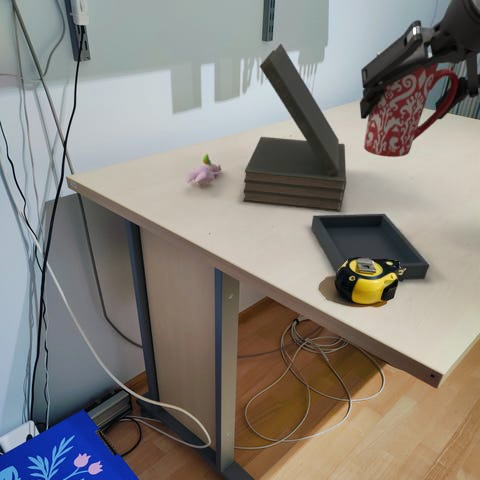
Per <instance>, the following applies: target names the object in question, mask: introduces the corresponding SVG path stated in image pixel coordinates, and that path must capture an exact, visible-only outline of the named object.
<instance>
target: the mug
mask: <svg viewBox="0 0 480 480" xmlns="http://www.w3.org/2000/svg"><path fill="white" fill-rule="evenodd" d="M383 51H384V50H380V51H377V52H376V57H377V56H378V55H379V54H381V53H382V52H383ZM428 56H429V58H430V57H432V52H428ZM439 64H440V63H437V64H435V65H434V66H432V67H430V68H428V69H424V68H421V69H419V70H417V71H415V72H413V73H411V74H410V75H408V76H406V77H404V78H402V79H400V80H398V81H397V82H395V83H393V84H391V85H389V86H387V87H385V88H384V94H383V95H382V97H381V98H380V100H379V101H378V102H377V104H376V105H375V107H374V108H373V109H372V111H371V112H370V113H369V115H368V116H367V122H366V123H367V124H366V130H365V135H364V137H365V138H364V142H363V144H364V145H363V149H364V150H365V151H366V152H367V153H370V154H372V155H376V156H380V157H387V158H388V157H389V158H391V157H392V158H397V157H398V158H399V157H404V156H407V155H409V153H410V151H411V148H412V145H413V142H414V141H415V140H416V139H417V138H418V137H420V136H421V135H422V134H423V133H425V132H426V131H427V130H428V129H429V128H430V127H431V126H433V124H435V123H436V122H437V121H438V120H439V119H438V118H439V117H440V116H441V115H442V114H443V113H444V112H445V111H446V109H447V108H448V107H449V105H450V104H451V102H452V101H453V99H454V97H455V95H456V92H457V89H458V83H459V80H458V79H459V76H458V75H457V73H456V72H455V71H453V69H452V70H451V69H449V68H442V69H439V70H438V66H439ZM443 77H449V80H450V86H449V88H450V90H449V93H448V95H447V97H446V99H445V100H444V102H443V103H442V104H441V106H440V107H439V108H438V109H437V110H436V109H435V111H434V112H433V113H432V114H431V115H430V116H429V117H428V118H427V119H426V120H425V121H424V122H423V123H422V124H420V125H419V123H420V120H421V117H422V115H423V112H424V109H425V105H426V103H427V99H428V96H429V94H430V91H432V90H433V88H434V87H435V86H436V84H437V83H438V82H439V81H440V80H441V79H442V78H443Z"/></svg>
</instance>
